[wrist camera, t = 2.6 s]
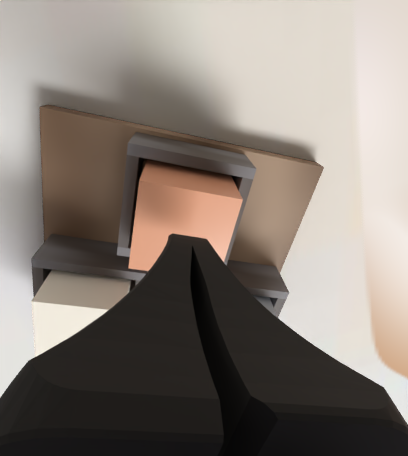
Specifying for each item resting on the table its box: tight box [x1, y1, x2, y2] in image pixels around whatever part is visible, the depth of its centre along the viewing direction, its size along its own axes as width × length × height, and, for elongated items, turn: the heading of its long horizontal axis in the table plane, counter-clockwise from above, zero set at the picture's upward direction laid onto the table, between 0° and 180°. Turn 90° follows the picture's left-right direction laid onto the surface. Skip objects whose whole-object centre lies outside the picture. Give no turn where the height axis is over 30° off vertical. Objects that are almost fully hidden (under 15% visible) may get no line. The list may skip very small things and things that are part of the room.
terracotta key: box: [128, 159, 243, 271], centre depth 13 cm, size 4×4×3 cm
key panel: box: [32, 105, 324, 317], centre depth 17 cm, size 14×13×4 cm
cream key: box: [31, 270, 131, 357], centre depth 15 cm, size 4×4×3 cm
